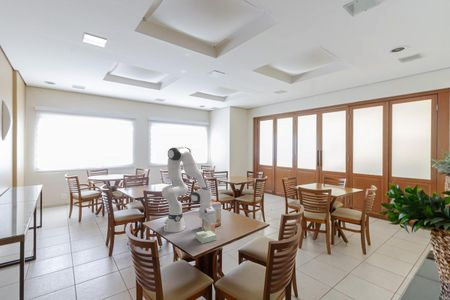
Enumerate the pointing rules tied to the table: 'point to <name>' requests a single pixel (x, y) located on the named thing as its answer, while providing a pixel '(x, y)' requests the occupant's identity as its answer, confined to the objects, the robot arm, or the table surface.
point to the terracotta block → (213, 227)
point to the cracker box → (217, 213)
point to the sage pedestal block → (206, 236)
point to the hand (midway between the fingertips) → (206, 226)
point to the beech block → (205, 226)
